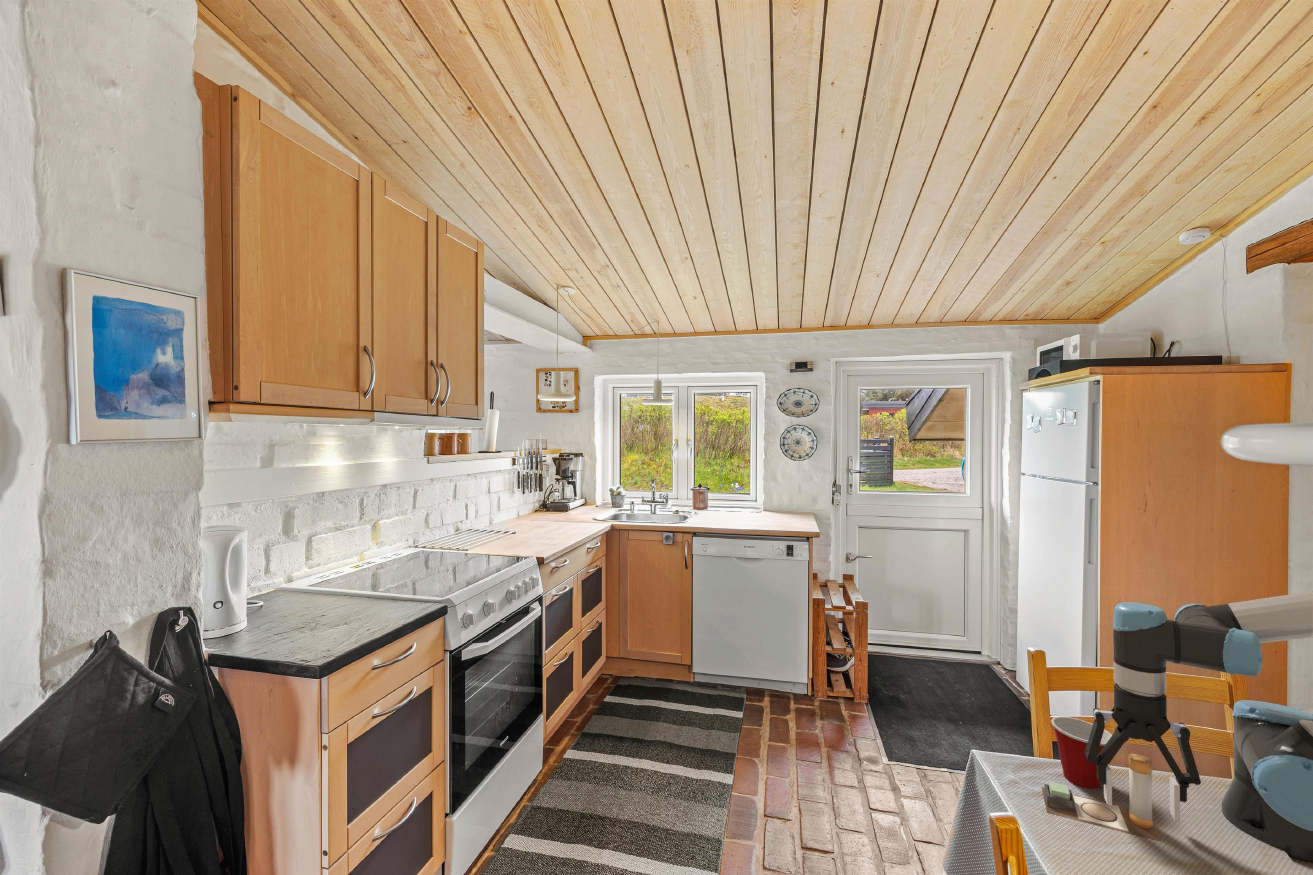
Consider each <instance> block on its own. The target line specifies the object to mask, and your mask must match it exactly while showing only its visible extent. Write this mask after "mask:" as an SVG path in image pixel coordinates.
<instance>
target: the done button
mask: <svg viewBox="0 0 1313 875" xmlns="http://www.w3.org/2000/svg"><path fill="white" fill-rule="evenodd" d="M1048 785H1049V793H1050V796H1054V797H1059V798H1063V799H1067V800H1070V793H1069V790H1070V789H1069V787H1068V785H1065V784H1060V783H1058V782H1057V783H1056V782H1051V781H1048ZM1068 789H1069V790H1068Z"/></svg>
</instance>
